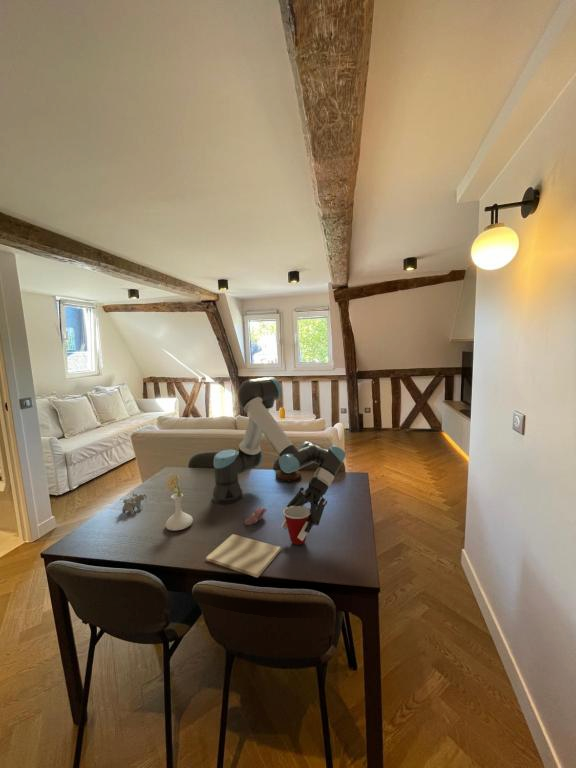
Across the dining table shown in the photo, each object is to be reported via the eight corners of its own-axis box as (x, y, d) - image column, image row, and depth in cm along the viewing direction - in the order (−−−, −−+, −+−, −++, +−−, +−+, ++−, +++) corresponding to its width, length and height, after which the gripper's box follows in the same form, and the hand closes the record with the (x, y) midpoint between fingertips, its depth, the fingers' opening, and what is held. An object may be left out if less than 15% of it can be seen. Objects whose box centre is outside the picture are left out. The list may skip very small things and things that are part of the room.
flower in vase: (165, 523, 146) (160, 468, 143) (191, 516, 150) (187, 464, 148) (166, 538, 134) (161, 479, 131) (195, 531, 139) (190, 473, 136)
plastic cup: (315, 534, 130) (314, 505, 129) (308, 550, 120) (307, 519, 119) (289, 530, 134) (288, 502, 133) (280, 545, 124) (278, 515, 122)
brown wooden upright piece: (306, 476, 190) (305, 443, 188) (289, 485, 179) (288, 450, 177) (287, 471, 200) (285, 439, 198) (270, 479, 189) (268, 445, 187)
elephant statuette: (119, 516, 155) (117, 501, 153) (134, 502, 166) (132, 488, 165) (137, 517, 153) (135, 502, 152) (151, 503, 165) (149, 489, 164)
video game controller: (250, 530, 140) (256, 518, 137) (243, 523, 142) (248, 511, 139) (264, 519, 148) (269, 508, 146) (256, 513, 150) (261, 501, 148)
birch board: (206, 560, 119) (205, 557, 119) (232, 536, 133) (232, 534, 133) (257, 577, 109) (257, 574, 109) (280, 550, 123) (280, 547, 123)
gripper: (346, 495, 126) (316, 550, 118) (308, 477, 143) (280, 525, 135) (336, 485, 122) (304, 542, 114) (298, 469, 139) (269, 517, 131)
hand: (291, 533), depth 125 cm, fingers closed on plastic cup, 9 cm apart
